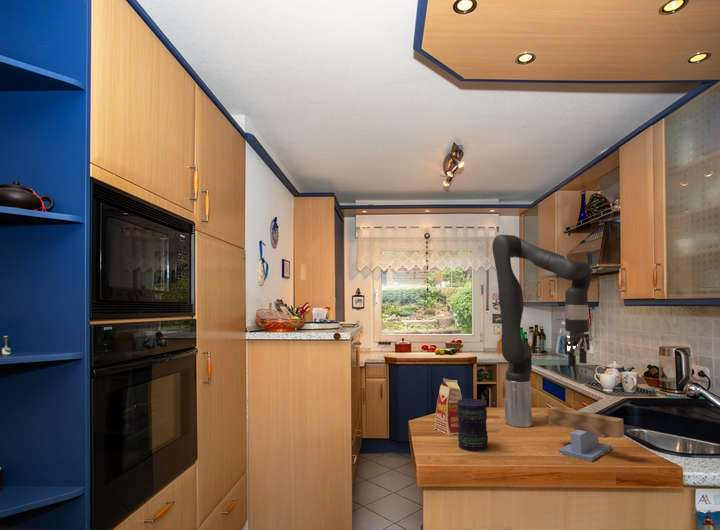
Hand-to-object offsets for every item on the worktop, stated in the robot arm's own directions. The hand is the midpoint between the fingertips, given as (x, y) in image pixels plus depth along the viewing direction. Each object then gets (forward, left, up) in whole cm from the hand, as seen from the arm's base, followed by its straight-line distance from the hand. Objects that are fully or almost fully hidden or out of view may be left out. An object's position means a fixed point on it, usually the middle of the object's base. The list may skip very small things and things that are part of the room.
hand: (577, 364), depth 154 cm
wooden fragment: (-6, +20, -27) cm, 34 cm away
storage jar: (-24, -29, -27) cm, 46 cm away
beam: (+4, -7, -20) cm, 21 cm away
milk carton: (-40, -20, -27) cm, 52 cm away
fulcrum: (+4, -7, -27) cm, 28 cm away
